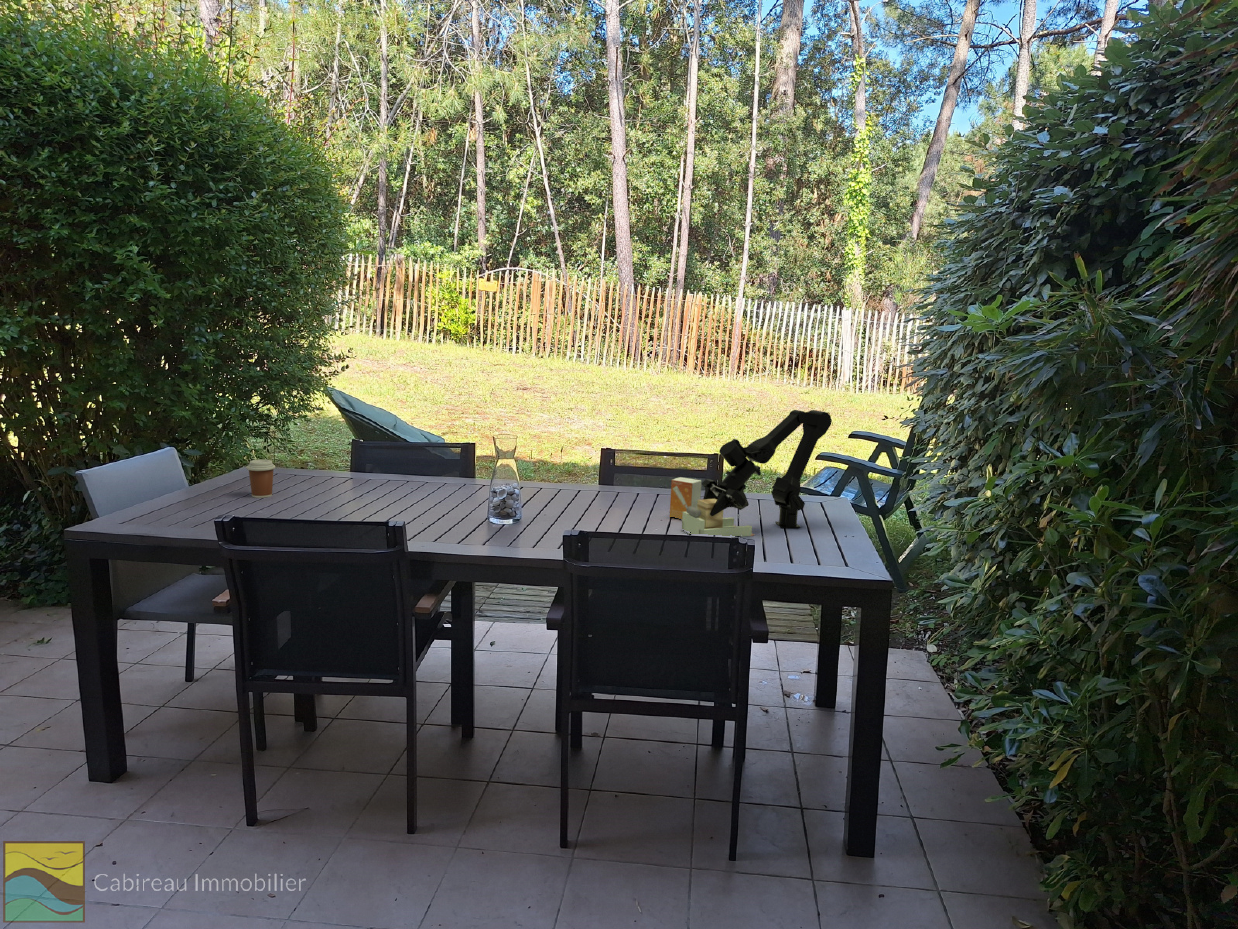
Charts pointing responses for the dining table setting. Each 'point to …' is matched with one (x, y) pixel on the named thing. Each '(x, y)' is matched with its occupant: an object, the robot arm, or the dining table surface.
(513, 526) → the dining table surface
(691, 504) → the small box
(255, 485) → the coffee cup
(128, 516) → the dining table surface
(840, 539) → the dining table surface
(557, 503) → the dining table surface
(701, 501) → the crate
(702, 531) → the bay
